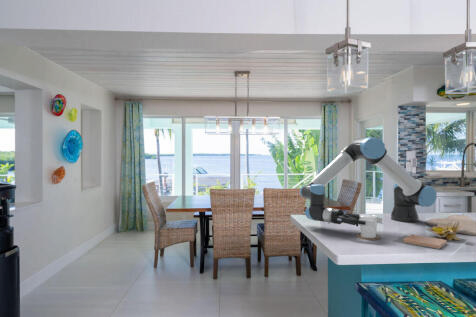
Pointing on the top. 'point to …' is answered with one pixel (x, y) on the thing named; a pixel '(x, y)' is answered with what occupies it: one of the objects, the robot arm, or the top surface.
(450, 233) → the decorative flower
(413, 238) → the tile
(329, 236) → the top surface
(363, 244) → the top surface
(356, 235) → the coaster
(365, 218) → the white cup
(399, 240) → the mat
